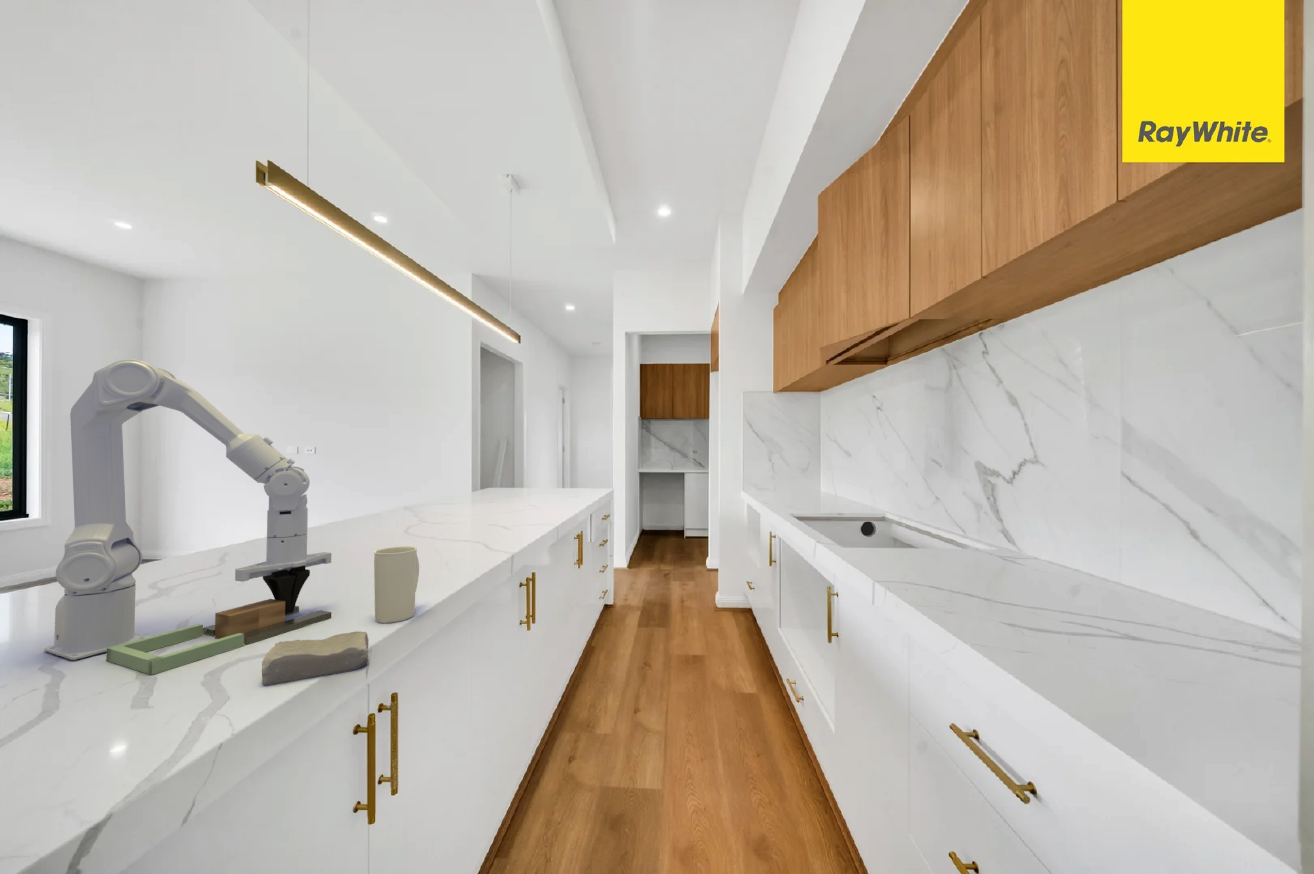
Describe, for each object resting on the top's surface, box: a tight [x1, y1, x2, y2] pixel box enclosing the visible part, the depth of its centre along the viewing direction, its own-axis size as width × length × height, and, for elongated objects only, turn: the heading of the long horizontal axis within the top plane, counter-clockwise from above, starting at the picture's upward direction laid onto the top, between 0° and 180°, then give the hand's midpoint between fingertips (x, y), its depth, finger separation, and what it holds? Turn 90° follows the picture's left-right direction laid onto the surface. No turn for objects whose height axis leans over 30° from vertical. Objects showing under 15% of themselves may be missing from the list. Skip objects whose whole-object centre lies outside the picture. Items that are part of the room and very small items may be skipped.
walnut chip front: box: [214, 605, 259, 640], centre depth 79 cm, size 4×4×4 cm
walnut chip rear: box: [243, 598, 286, 628], centre depth 82 cm, size 4×4×4 cm
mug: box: [373, 545, 420, 624], centre depth 89 cm, size 10×7×12 cm, turn 173°
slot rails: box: [203, 605, 332, 645], centre depth 83 cm, size 12×13×1 cm
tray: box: [105, 623, 245, 676], centre depth 72 cm, size 12×10×2 cm
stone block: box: [261, 631, 369, 687], centre depth 68 cm, size 12×5×10 cm
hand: (285, 612), depth 86 cm, fingers closed
